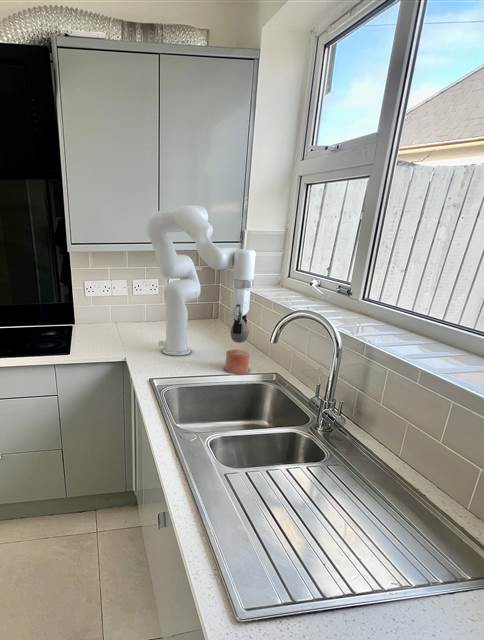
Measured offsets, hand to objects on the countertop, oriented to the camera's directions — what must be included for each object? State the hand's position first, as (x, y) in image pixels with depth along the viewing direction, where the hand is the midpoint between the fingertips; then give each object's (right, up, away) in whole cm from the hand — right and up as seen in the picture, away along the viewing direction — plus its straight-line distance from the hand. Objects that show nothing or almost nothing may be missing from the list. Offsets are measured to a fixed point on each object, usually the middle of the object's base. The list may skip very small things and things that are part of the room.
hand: (239, 330), depth 156 cm
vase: (0, -4, +2) cm, 4 cm away
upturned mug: (+1, -14, +7) cm, 16 cm away
